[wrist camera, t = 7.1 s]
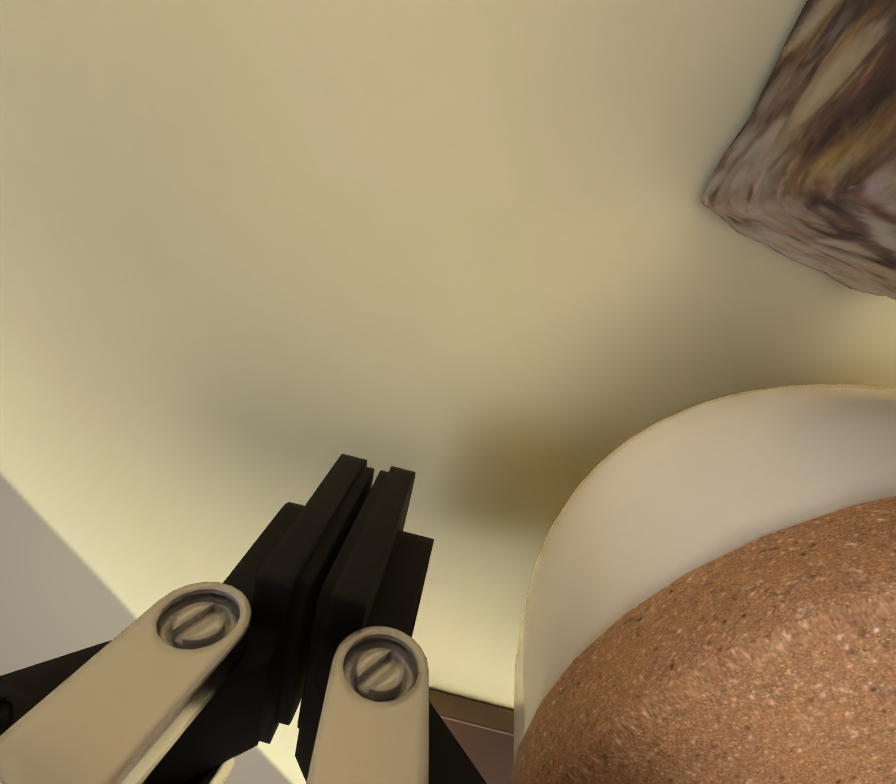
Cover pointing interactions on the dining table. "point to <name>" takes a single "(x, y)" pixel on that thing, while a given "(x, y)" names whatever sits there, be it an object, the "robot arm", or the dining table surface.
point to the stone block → (823, 148)
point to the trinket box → (721, 602)
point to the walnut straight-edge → (480, 734)
